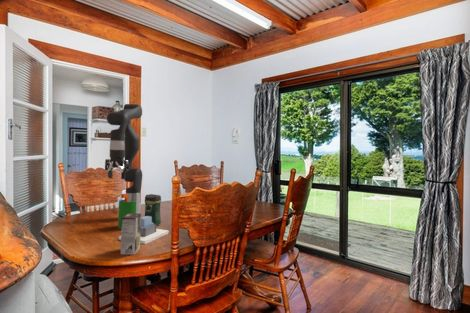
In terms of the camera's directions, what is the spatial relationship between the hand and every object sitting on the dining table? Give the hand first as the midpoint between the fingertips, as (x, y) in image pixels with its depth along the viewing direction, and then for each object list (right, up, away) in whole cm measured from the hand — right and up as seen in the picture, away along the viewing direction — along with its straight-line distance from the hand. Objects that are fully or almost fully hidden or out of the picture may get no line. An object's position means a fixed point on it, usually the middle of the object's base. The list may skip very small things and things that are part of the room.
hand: (116, 178), depth 149 cm
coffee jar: (+14, -30, +18) cm, 38 cm away
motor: (+1, -30, +10) cm, 31 cm away
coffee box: (+18, -31, -27) cm, 44 cm away
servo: (+17, -29, -5) cm, 34 cm away
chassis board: (+17, -30, -5) cm, 35 cm away
